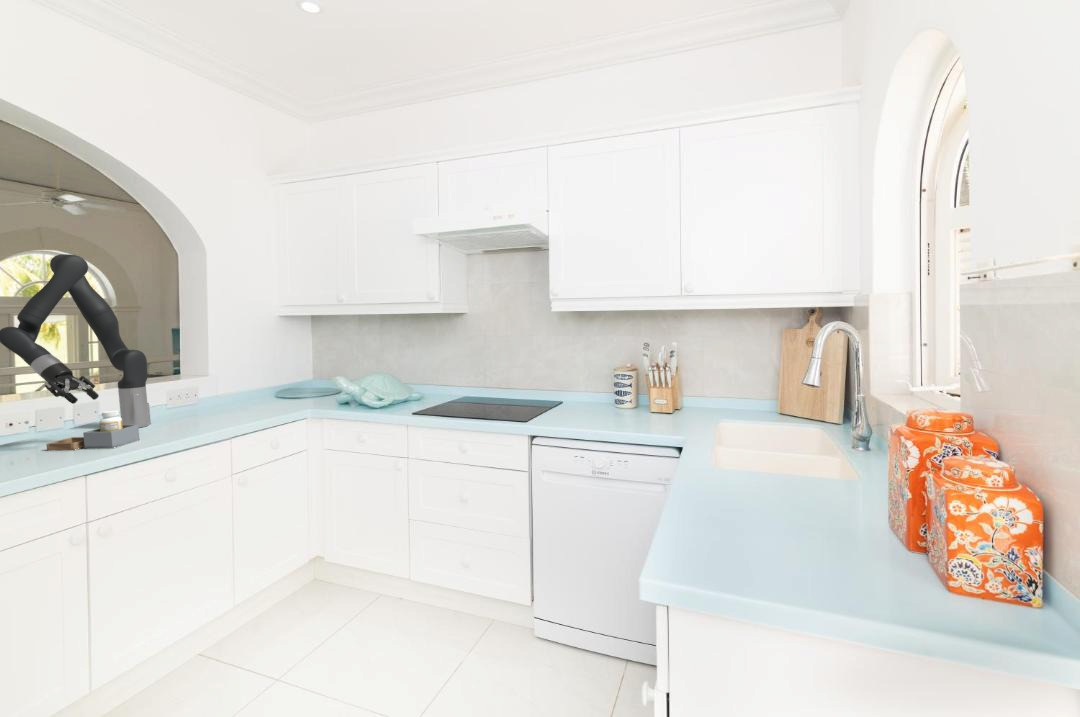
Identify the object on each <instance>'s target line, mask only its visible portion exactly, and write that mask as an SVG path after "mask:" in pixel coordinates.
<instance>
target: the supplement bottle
mask: <svg viewBox="0 0 1080 717" xmlns="http://www.w3.org/2000/svg"><path fill="white" fill-rule="evenodd" d="M101 417H102V418H101V419H100V420H99V428H100V432H111V431H115V430H119V429H122V428H123V426H122V418H121V416H120V410H105V411H102V412H101Z"/></svg>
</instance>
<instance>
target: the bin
mask: <svg viewBox="0 0 1080 717" xmlns="http://www.w3.org/2000/svg"><path fill="white" fill-rule="evenodd" d="M122 426H123V428H122V429H119V430H115V431H111V432H100V427H99V428H95V429H92V430H88V431H87V430H86V431H84V432H83V433H82V435H83V437H84V445H85V447H84V449H85V448H113V449H115V448H114V447H116V448H119V447H122V446H121V445H123V446H125V445H124V444H126V445H129V444H132V443H134V441H135V442H138V441H140V428H138V425H122ZM137 440H138V441H137ZM131 442H132V443H131ZM128 443H129V444H128ZM118 446H119V447H118Z"/></svg>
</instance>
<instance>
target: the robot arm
mask: <svg viewBox="0 0 1080 717" xmlns="http://www.w3.org/2000/svg"><path fill="white" fill-rule="evenodd" d="M49 268H50V269H51V271H52V273H53V275H52V276H51V278H50V279H49V280H48V282H47V283H46V284H45V285H44V286H43V287H41V289H40V290H39V291H37V293H35V294H34V295H33V296H32V297H31V298H30V299H29V300H28V301H26V304H25V305H24V306H23V307H22V309H21V310H20V312H18V314H17V316H16V318H17V320H18V322H19V324H18V327H16V326H6V327H3V328H1V329H0V344H1V345H3V346H4V347H5V348H6V349H8V350H9V351H11V352H13V354H15V355H17V356H18V357H20V358H21V360H23V361H24V362H25V363H26V364H27V365H28V366H30V367H31V368H32V370H33V371H34V372H35V373H36V374H38V376H39V377H41V378H42V379H43V380H44V381H45V382H46V383H45V384H44V387H45V389H47V390H48V391H49V392H50V393H51V394H52V395H53V396H54V397H56V398H59V397H61V398H64V399H66V400H67V402H69V403H71V405H72V404H73V405H74V404H77V402H78V401H79V400H78V399H79V398H78V397H76V396H75V395H74V394H73V393H71V392H70V391H77V392H84V393H85V394H86V395H87V396H89V397H90V398H91V399H92V400H97V399H98V398H99V394H98V392H96V391H95V390H94V388H96V385H95V383H93V382H92V381H90V380H89V379H88V378H86V377H85V376H83V375H81V376H80V377H75V376H74V374H73V370H71V369H70V368H69V367H68V366H67V365H66V364H65V363H64V362H62V361H61V360H60V359H59V358H57V356H54V355H53V354H52V353H51V352H50V351H48V349H46V348H45V347H44V346H42V345H40V344H38V343H37V342H36V341H37V339H38V337H39V334H40V332H41V328H42V326H43V323H45V321H46V320H47V319H48V317H49V316H50V314H51V313H52V311H54V308H55V307H56V306H57V305H58V303H60V301H61V300H62V298H64V296H65V295H66V294H67V293H69V295H70V297H71V298H72V300H73V302H74V303H75V305H76V307H77V309H78V310H79V311H80V313H81V315H82V317H83V318H84V320H85V322H86V323H87V324H88V326H89V327H90V328H91V330H92V331H93V333H94V335H95V336H96V338H97V340H98V341H99V342H100V344H101V345H102V347H103V349H104V351H105V353H106V356H107V358H108V360H109V362H110V363H111V365H112V367H114V369H116V370H118V371H120V372H121V371H122V374H123V375H122V379H120V380H119V381H118V382H117V389H118V390H117V392H118V402H119V403H118V404H119V415H120V418H122V425H138V428H139V429H140V428H145V427H147V426H150V425H152V422H151V411H150V402H148V396H147V386H146V385H147V381H148V360H147V356H146V355H145V354H144V352H143V351H141V350H138V349H129V348H128V346H126V344H125V342H124V341H123V340H122V338H121V336H120V326H119V320H118V318H117V316H116V314H115V312H114V311H113V309H112V307H111V306H110V305H109V303H108V302H107V301H106V299H104V298H103V297H102V296H101V295H100V294H99V293H98V292H97V291H96V290H95V289H94V287H93V286H92V285H91V284H90V283H89V281H88V279H87V277H86V274H87V272H88V271H89V264H88V262H87V261H86V259H85V258H83V257H81V256H79V255H76V254H66V253H65V254H64V253H61V254H56V255H55V256H53V257H52V258H51V259H50V261H49Z"/></svg>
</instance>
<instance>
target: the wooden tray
mask: <svg viewBox="0 0 1080 717" xmlns="http://www.w3.org/2000/svg"><path fill="white" fill-rule="evenodd" d="M82 447H84V448H85V445H84V436H77V437H76V436H73V437H68V438H64V439H60V440H56V441H53V442H50V443H49V442H48V443H46V451H47V450H73V451H76V450H75V449H77V450H79V449H78V448H81V449H83V448H82Z"/></svg>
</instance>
